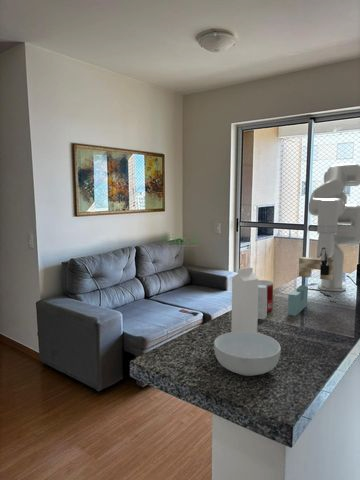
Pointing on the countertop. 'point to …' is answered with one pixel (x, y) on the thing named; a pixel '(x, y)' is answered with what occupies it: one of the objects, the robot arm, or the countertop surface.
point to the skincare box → (262, 301)
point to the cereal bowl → (247, 352)
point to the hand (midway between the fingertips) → (325, 273)
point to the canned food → (268, 293)
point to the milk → (244, 301)
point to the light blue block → (297, 300)
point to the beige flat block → (313, 267)
